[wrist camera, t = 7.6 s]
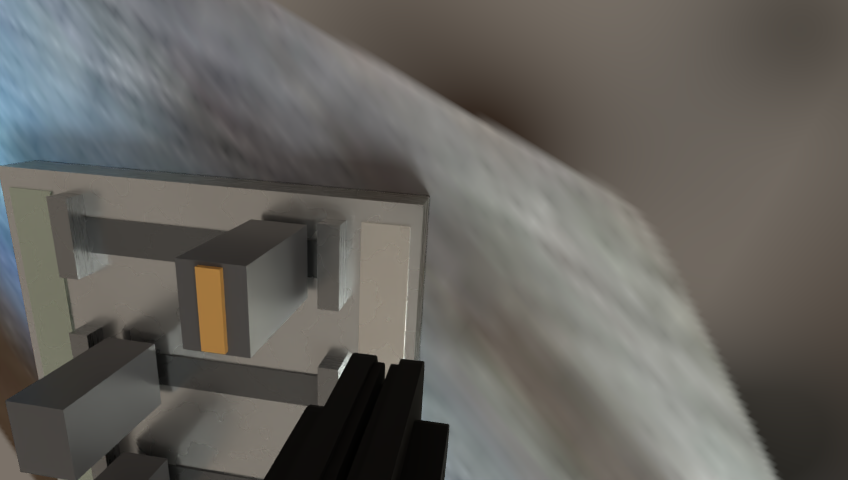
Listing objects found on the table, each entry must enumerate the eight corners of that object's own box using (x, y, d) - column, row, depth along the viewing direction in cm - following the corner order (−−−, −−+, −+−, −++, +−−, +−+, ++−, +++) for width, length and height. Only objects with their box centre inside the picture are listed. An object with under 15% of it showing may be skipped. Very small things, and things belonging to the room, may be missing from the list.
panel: (408, 530, 29) (398, 577, 26) (87, 474, 32) (47, 511, 29) (429, 196, 23) (419, 210, 20) (34, 160, 26) (-24, 168, 23)
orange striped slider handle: (307, 297, 23) (247, 361, 18) (254, 291, 23) (179, 351, 18) (306, 225, 22) (243, 268, 16) (251, 219, 22) (170, 260, 17)
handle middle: (161, 403, 26) (75, 481, 21) (116, 396, 26) (20, 471, 21) (154, 343, 25) (63, 410, 20) (107, 337, 25) (5, 400, 20)
